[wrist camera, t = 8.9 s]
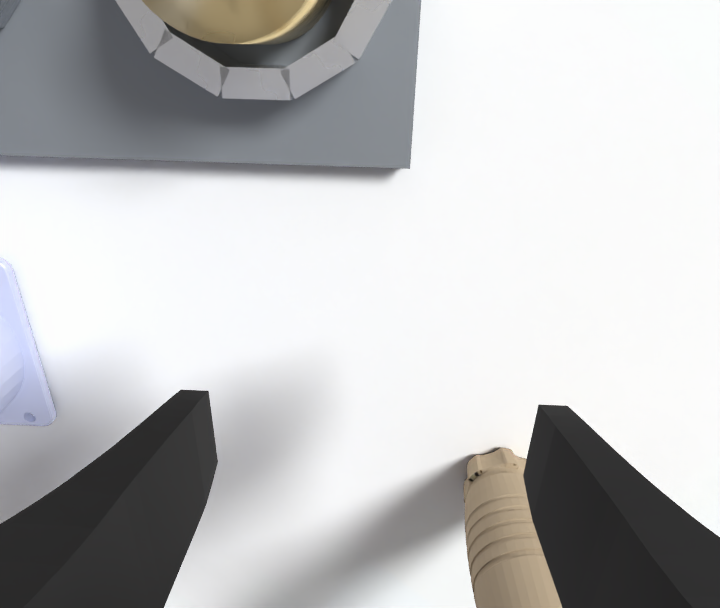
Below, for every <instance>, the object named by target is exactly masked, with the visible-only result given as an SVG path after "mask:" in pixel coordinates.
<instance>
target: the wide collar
mask: <svg viewBox="0 0 720 608" xmlns="http://www.w3.org/2000/svg"><path fill="white" fill-rule="evenodd" d="M115 1H116V2H117V4H118V5H119V7H120V8H121V10H122V11H123V13H124V15H125V16H126V18H127V19H128V21H129V22H130V24H131V25H132V27H133V28H134V30H135V31H136V33H137V35H138V36H139V38H140V39H141V41H142V42H143V44H144V45H145V47H146V48H147V50H148V51H149V53H150V54H151V53H155V56H154V58H155V59H157V60H159V61H160V62H162V63H164V64H165V65H167V66H168V67H170V68H172V69H173V70H175V71H177V72H178V73H180V74H181V75H183V76H185V77H186V78H188V79H190V80H191V81H193V82H194V83H196V84H198V85H199V86H201V87H203V88H204V89H206V90H207V91H209V92H211V93H212V94H214V95H215V96H217V97H219V96H222V98H227V99H261V100H292V99H293V98H295V99H296V98H298V97H300V96H301V95H303V94H305V93H306V92H308V91H310V90H311V89H313V88H314V87H316V86H318V85H319V84H321V83H323V82H324V81H326V80H328V79H329V78H331V77H333V76H334V75H336V74H338V73H339V72H341V71H343V70H344V69H346V68H348V67H349V66H351V65H353V64H354V63H356V62H357V61H358V59H360V58H361V57H362V55H363V53H364V51H365V49H366V47H367V46H368V44H369V42H370V40H371V38H372V37H373V35H374V33H375V31H376V29H377V28H378V26H379V24H380V22H381V20H382V18H383V17H384V15H385V13H386V11H387V9H388V8H389V6H390V4H391V2H392V0H354V2H353V4H352V6H351V8H350V10H349V12H348V14H347V16H346V18H345V19H344V21H343V23H342V25H341V27H340V29H339V31H338V33H337V35H336V37H334V38H332V39H331V40H329V41H328V42H326V43H324V44H323V45H321V46H320V47H318V48H316V49H315V50H313V51H312V52H310V53H308V54H307V55H305V56H304V57H302V58H300V59H299V60H297V61H296V62H294V63H292V64H291V65H267V64H242V63H240V62H239V61H237V60H236V59H234V58H233V57H231V56H229V55H228V54H226V53H225V52H223V51H222V50H220V49H218V48H217V47H215V46H214V45H212V44H211V43H209V42H207V41H203V40H200V39H197V38H194V37H191V36H189V35H187V34H185V33H183V32H180V31H178V30H176V29H175V28H173V27H172V26H170V25H169V24H167V23H166V22H164V21H163V20H162V19H161V18H159V17H158V16H157V15H156V14H155V13H153V12H152V11H151V10H150V9H149V8H148V7H147V6H146V5H145V4H144V2H143V1H142V0H115Z"/></svg>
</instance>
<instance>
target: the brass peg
mask: <svg viewBox="0 0 720 608" xmlns="http://www.w3.org/2000/svg"><path fill="white" fill-rule="evenodd" d="M142 1H143V2H144V4H145V5H146V6H147V7H148V8H149V9H150V10H151V11H152V12H153V13H155V14H156V15H157V16H158V17H159V18H161V19H162V20H163V21H164V22H166V23H167V24H169V25H170V26H172V27H173V28H175V29H176V30H178V31H180V32H183V33H185V34H187V35H189V36H191V37H194V38H197V39H200V40H203V41H208V42H213V43H224V44H261V45H272V44H280V43H284V42H288V41H291V40H293V39H296V38H298V37H299V36H301V35H303V34H304V33H306V32H307V31H308V30H310V29H311V28H312V27H313V26H314V25H315V24H316V23H317V22H318V21H319V20H320V19H321V17H322V16H323V15H324V13H325V12H326V10H327V9H328V7H329V5H330V3H331V1H332V0H142Z"/></svg>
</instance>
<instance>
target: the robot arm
mask: <svg viewBox="0 0 720 608" xmlns="http://www.w3.org/2000/svg"><path fill="white" fill-rule="evenodd" d="M30 413H32V414H33V415H34V416H33V415H32V414H30ZM55 418H56V411H55V407H54V404H53V401H52V397H51V394H50V391H49V387H48V384H47V381H46V377H45V374H44V371H43V368H42V364H41V361H40V358H39V354H38V351H37V348H36V344H35V341H34V338H33V334H32V331H31V328H30V324H29V321H28V318H27V314H26V311H25V308H24V304H23V301H22V298H21V294H20V291H19V288H18V284H17V281H16V278H15V274H14V271H13V268H12V266H11V264H10V263H9V262H8V261H7V260H5V259H3V258H1V257H0V424H10V425H33V426H48V425H50V424H51V423H52V422H53V421H54V420H55ZM217 463H218V460H217V453H216V445H215V438H214V430H213V422H212V415H211V407H210V400H209V392H208V391H196V390H180V391H179V392H178V393H176V394H175V395H174V396H173V397H172V398H170V399H169V400H168V401H167V402H166V403H164V404H163V405H162V406H161V407H160V408H158V409H157V410H156V411H155V412H154V413H153V414H151V415H150V416H149V417H148V418H147V419H146V420H144V421H143V422H142V423H141V424H140V425H138V426H137V427H136V428H135V429H133V430H132V431H131V432H130V433H129V434H127V435H126V436H125V437H124V438H123V439H121V440H120V441H119V442H118V443H116V444H115V445H114V446H113V447H111V448H110V449H109V450H108V451H106V452H105V453H104V454H102V455H101V456H100V457H98V458H97V459H96V460H94V461H93V462H92V463H90V464H89V465H88V466H86V467H85V468H84V469H82V470H81V471H80V472H78V473H77V474H76V475H74V476H73V477H72V478H70V479H69V480H68V481H66V482H65V483H63V484H62V485H60V486H59V487H58V488H56V489H55V490H53V491H52V492H50V493H49V494H47V495H46V496H44V497H43V498H41V499H40V500H38V501H37V502H35V503H33V504H32V505H30V506H29V507H27V508H26V509H24V510H22V511H21V512H19V513H18V514H16V515H15V516H13V517H11V518H10V519H8V520H6V521H5V522H3V523H1V524H0V608H164V606H165V603H166V601H167V598H168V596H169V594H170V591H171V589H172V586H173V584H174V581H175V579H176V577H177V574H178V572H179V569H180V567H181V565H182V562H183V560H184V557H185V555H186V553H187V550H188V548H189V545H190V543H191V541H192V538H193V536H194V533H195V531H196V528H197V526H198V523H199V521H200V519H201V516H202V514H203V511H204V509H205V506H206V503H207V499H208V496H209V492H210V489H211V485H212V482H213V478H214V474H215V470H216V466H217ZM523 478H524V483H525V488H526V493H527V498H528V503H529V507H530V512H531V516H532V520H533V523H534V527H535V530H536V533H537V536H538V538H539V541H540V544H541V547H542V550H543V553H544V556H545V559H546V562H547V565H548V568H549V570H550V573H551V576H552V579H553V582H554V585H555V588H556V591H557V593H558V596H559V599H560V602H561V605H562V608H720V537H719V536H717V535H716V534H714V533H713V532H712V531H710V530H709V529H708V528H706V527H705V526H704V525H702V524H701V523H700V522H698V521H697V520H696V519H694V518H693V517H692V516H691V515H689V514H688V513H687V512H686V511H684V510H683V509H682V508H681V507H680V506H678V505H677V504H676V503H675V502H673V501H672V500H671V499H670V498H669V497H667V496H666V495H665V494H664V493H662V492H661V491H660V490H659V489H658V488H657V487H655V486H654V485H653V484H652V483H651V482H650V481H648V480H647V479H646V478H645V477H644V476H643V475H642V474H640V473H639V472H638V471H637V470H636V469H635V468H634V467H633V466H631V465H630V464H629V463H628V462H627V461H626V460H625V459H624V458H623V457H622V456H621V455H619V454H618V453H617V452H616V451H615V450H614V449H613V448H612V447H611V446H610V445H609V444H608V443H607V442H605V441H604V440H603V439H602V438H601V437H600V436H599V435H598V434H597V433H596V432H595V431H594V430H593V429H592V428H591V427H590V426H589V425H588V424H586V423H585V422H584V421H583V420H582V419H581V418H580V417H579V416H578V415H577V414H576V413H575V412H574V411H572V410H571V409H570V408H569V407H568V406H556V405H539V406H538V411H537V415H536V419H535V424H534V428H533V433H532V437H531V442H530V446H529V451H528V455H527V460H526V464H525V469H524V473H523Z"/></svg>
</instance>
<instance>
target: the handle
mask: <svg viewBox="0 0 720 608" xmlns="http://www.w3.org/2000/svg"><path fill="white" fill-rule="evenodd" d="M526 460H527V459H525V458H520V457H517V456H515V455H514V454H513V452H512V450H511V449H506V448H499V449H498V450H496V451H495V452H492V453H489V454H485V455H476V456H474V457H473V458H472V459H470V461H469V462H468V464H467V475H468V477H467V479H465V482H464V502H465V532H466V545H467V555H468V561H469V569H470V575H471V582H472V588H473V592H474V599H475V603H476V607H477V608H562V605H561V602H560V599H559V596H558V593H557V591H556V588H555V585H554V582H553V579H552V576H551V573H550V570H549V568H548V565H547V562H546V559H545V556H544V553H543V550H542V547H541V544H540V541H539V538H538V536H537V533H536V530H535V527H534V523H533V520H532V516H531V512H530V507H529V503H528V498H527V493H526V488H525V483H524V478H523V473H524V469H525V464H526Z"/></svg>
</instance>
